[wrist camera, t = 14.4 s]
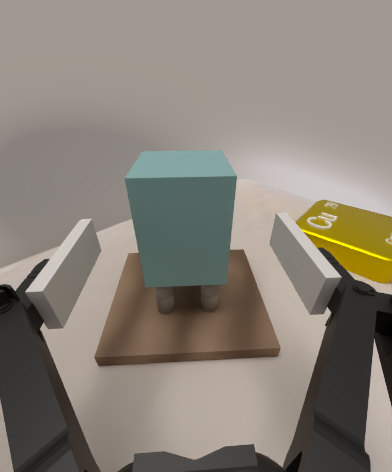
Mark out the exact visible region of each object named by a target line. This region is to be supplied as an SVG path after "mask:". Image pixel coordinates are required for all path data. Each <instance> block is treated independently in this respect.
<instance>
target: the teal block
mask: <svg viewBox="0 0 392 472" xmlns="http://www.w3.org/2000/svg"><path fill="white" fill-rule="evenodd" d="M236 180H237V176H236V174H235V172H234V171H233V169H232V167H231V165H230V164H229V162H228V161H227V159H226V157H225V155H224V154H223V152H222V150H209V151H208V150H205V151H151V152H150V151H148V152H147V151H145V152H142V153H141V155H140V156H139V158H138V159H137V161H136V162H135V164H134V165H133V167H132V168H131V170H130V171H129V173H128V174H127V176H126V178H125V182H126V187H127V192H128V197H129V203H130V208H131V214H132V219H133V224H134V230H135V235H136V240H137V246H138V251H139V256H140V261H141V267H142V272H143V277H144V283H145V287H171V286H198V285H225V284H226V282H227V271H228V261H229V251H230V241H231V231H232V220H233V210H234V200H235V190H236Z"/></svg>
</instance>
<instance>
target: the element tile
mask: <svg viewBox="0 0 392 472" xmlns="http://www.w3.org/2000/svg"><path fill="white" fill-rule="evenodd" d="M295 223H296V224H297V225H298V226H299V228H300V229H301V230H302V231H303V232H304V234H305V235H306V236H307V237H308V238H309V239H310V241H311V242H312V243H313V244H314V245H315V246H316V248H320V247H322V248H324V249H325V250H327V251H329V252H330V253H331V254H332V255H333V256H334V257H335V259H336V260H337V261H338V262H339V264H341V265H342V266H343V267H344V268H345V269H346V270H348V271H350V272H353V273H355V274H358V275H360V276H363V277H365V278H368V279H370V280H373V281H376V282H379V283H384V284H385V283H391V282H392V217H390V216H386V215H382V214H378V213H375V212H371V211H367V210H362V209H359V208H355V207H351V206H347V205H343V204H339V203H335V202H331V201H327V200H321V201H318V202H316V203H315V204H314V205H313V206H312V207H311V208H310V209H309V210H308V211H307V212H306V213H305V214H304V215H303V216H302V217H300V218H299V219H298V220H297V221H296V222H295Z"/></svg>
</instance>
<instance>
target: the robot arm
mask: <svg viewBox="0 0 392 472" xmlns="http://www.w3.org/2000/svg"><path fill="white" fill-rule="evenodd" d="M270 246H271V247H272V249H273V251H274V253H275V254H276V256H277V258H278V260H279V261H280V263H281V265H282V267H283V268H284V270H285V272H286V274H287V275H288V277H289V279H290V281H291V282H292V284H293V286H294V288H295V289H296V291H297V293H298V295H299V296H300V298H301V300H302V302H303V303H304V305H305V307H306V309H307V310H308V312H309V314H310V315H315V314H324V312H325V310H326V308H327V307H328V308H329V310H330V311H331V315H330V317H329V318H328V320H327V322H326V324H325V326H327V327H326V330H325V333H324V337H323V340H322V344H321V347H320V350H319V354H318V357H317V360H316V364H315V367H314V371H313V374H312V377H311V381H310V384H309V388H308V391H307V394H306V398H305V401H304V404H303V408H302V411H301V415H300V418H299V421H298V425H297V428H296V432H295V435H294V438H293V441H292V444H291V446H290V449H289V451H288V453H287V456H286V459H285V462H284V465H283V468H282V467H281V466H280V465H279V464H277V463H276V462H275V461H273V460H272V459H270V458H268V457H267V456H264V455H262V454H260V453H257V452H255V447H254V444H251V445H238V446H226V447H223V448H221V449H219V450H217V451H214V452H212V453H210V454H208V455H206V456H204V457H202V458H199V459H197V460H192V459H189V458H185V457H182V456H178V455H175V454H171V453H168V452H164V451H163V452H151V453H138V454H134V461H133V462H132V463H130V464H128V465H127V466H125V467H123V468H122V469H121V470H119V471H118V472H370V458H369V455H368V454H367V453H366V452H365V448H364V442H365V431H366V420H367V409H368V398H369V388H370V377H371V366H372V355H373V344H374V339H375V343H376V347H377V350H378V354H379V358H380V362H381V366H382V370H383V374H384V378H385V382H386V386H387V390H388V394H389V398H390V402H391V406H392V295H390V294H385V293H379V292H376V290H375V289H374V288H373V287H371V286H370V285H369V284H366V283H364V282H362V281H358V280H355V279H354V278H353V277H352V276H351V275H350V274H349V273H348V272H347V271H346V269H345V268H344V267H343V266H342V265H341V264H339V262H338V261H337V260H336V259H335V257H334V256H333V255H332V254H331V253H330V252H329V251H327V250H325V249H324V248H322V247H320V248H316V246H315V245H314V244H313V243H312V242H311V241H310V239H309V238H308V237H307V236H306V235H305V234H304V232H303V231H302V230H301V229H300V228H299V226H298V225H297V224H296V223H295V222H294V221H293V219H292V218H291V217H290V216H289V215H288V214H287V213H276V216H275V221H274V226H273V230H272V235H271V239H270ZM100 252H101V248H100V245H99V241H98V238H97V235H96V231H95V228H94V225H93V222H92V219H81V220H80V221H79V222H78V223H77V225H76V226H75V227H74V229H73V230H72V231H71V233H70V234H69V235H68V237H67V238H66V239H65V241H64V242H63V243H62V244H61V246H60V247H59V248H58V250H57V251H56V252H55V253H54V255H53V256H52V257H51V259H44V260H43V261H42V262H40V263H39V264H37V265H36V266H35V267H34V269H33V270H32V271H31V273H30V274H29V275H28V276H27V278H26V279H25V280H24V281H23V282H22V283H21V285H20V286H19V287H18V288H17V290H16V291H14V289H13V288H12V287H11V286H10V285H6V284H4V285H0V399H1V404H2V410H3V415H4V421H5V426H6V431H7V437H8V442H9V448H10V453H11V459H12V464H13V469H14V472H101V471H100V469H99V467H98V466H97V464H96V462H95V460H94V458H93V456H92V454H91V452H90V449H89V447H88V444H87V442H86V439H85V437H84V434H83V432H82V429H81V427H80V425H79V422H78V420H77V417H76V415H75V412H74V410H73V407H72V405H71V402H70V400H69V397H68V395H67V393H66V390H65V388H64V385H63V383H62V380H61V378H60V375H59V373H58V370H57V368H56V366H55V363H54V361H53V358H52V356H51V353H50V351H49V348H48V346H47V343H46V341H45V339H44V336H43V334H42V332H41V330H40V328H41V326H42V324H43V322H44V323H45V325H46V326H47V328H48V329H57V328H64V326H65V324H66V322H67V320H68V318H69V315H70V313H71V311H72V309H73V307H74V305H75V303H76V301H77V299H78V297H79V295H80V293H81V291H82V289H83V287H84V285H85V283H86V281H87V279H88V277H89V275H90V273H91V270H92V268H93V266H94V264H95V262H96V260H97V258H98V256H99V254H100Z"/></svg>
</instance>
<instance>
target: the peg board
mask: <svg viewBox="0 0 392 472" xmlns="http://www.w3.org/2000/svg"><path fill="white" fill-rule="evenodd" d="M279 351H280V345H279V343H278V340H277V337H276V335H275V332H274V329H273V327H272V324H271V321H270V319H269V316H268V313H267V311H266V308H265V305H264V303H263V300H262V297H261V295H260V292H259V289H258V287H257V284H256V281H255V279H254V276H253V273H252V271H251V268H250V265H249V263H248V260H247V257H246V255H245V252H244V250H230V251H229V261H228V271H227V282H226V284H225V285H198V286H171V287H145V283H144V277H143V272H142V267H141V261H140V256H139V253H129V254H128V257H127V260H126V263H125V266H124V269H123V272H122V275H121V278H120V281H119V284H118V287H117V290H116V293H115V296H114V299H113V303H112V306H111V309H110V312H109V315H108V318H107V321H106V324H105V327H104V330H103V333H102V336H101V339H100V342H99V345H98V348H97V351H96V354H95V357H94V358H95V360H96V362H97V364H98V366H101V365H120V364H139V363H158V362H177V361H195V360H214V359H233V358H252V357H271V356H278V353H279Z"/></svg>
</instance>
